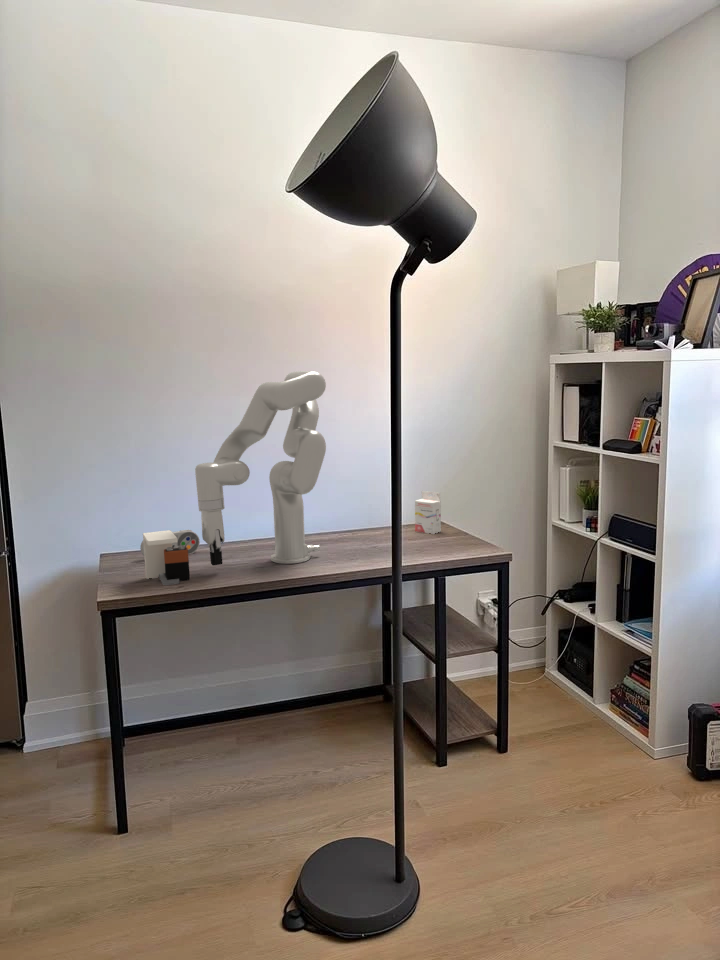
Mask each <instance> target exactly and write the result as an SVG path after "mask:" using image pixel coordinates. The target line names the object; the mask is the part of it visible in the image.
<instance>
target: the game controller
mask: <svg viewBox="0 0 720 960" xmlns="http://www.w3.org/2000/svg"><path fill="white" fill-rule="evenodd" d="M172 533H173V534H174V535H175V536H176V537H177V542H176V543H172V548H178V546H180V545H185V547H187V548H188V555H192V554H194V553H196V552H197V550H199V547H200V543H201V541H200V537H199V535H198V534H197V533H196V532H194V531H193V530H191V529H182V530H179V531H172ZM139 549H140V552H141V555H142V556H143V557H144V558H145V556H144V542H143V540H142V541H141V543H140V548H139ZM191 553H192V554H191Z"/></svg>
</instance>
